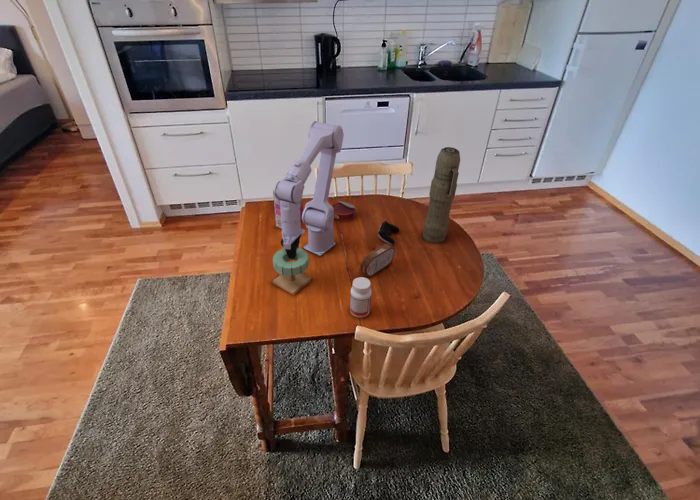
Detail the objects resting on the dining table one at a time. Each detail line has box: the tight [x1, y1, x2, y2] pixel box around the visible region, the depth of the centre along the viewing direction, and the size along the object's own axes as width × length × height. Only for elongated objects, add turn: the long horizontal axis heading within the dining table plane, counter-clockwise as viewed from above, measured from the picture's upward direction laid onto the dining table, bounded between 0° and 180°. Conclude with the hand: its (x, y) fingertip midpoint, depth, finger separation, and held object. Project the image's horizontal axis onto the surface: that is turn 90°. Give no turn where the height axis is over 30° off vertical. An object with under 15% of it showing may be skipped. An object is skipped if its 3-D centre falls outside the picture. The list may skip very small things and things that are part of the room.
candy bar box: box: [272, 188, 304, 230], centre depth 151 cm, size 11×5×16 cm, turn 144°
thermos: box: [422, 146, 461, 244], centre depth 141 cm, size 9×12×35 cm
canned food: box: [331, 197, 356, 222], centre depth 161 cm, size 11×10×10 cm
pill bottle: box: [349, 276, 373, 319], centre depth 115 cm, size 6×6×11 cm
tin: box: [359, 243, 396, 277], centre depth 132 cm, size 15×3×8 cm, turn 134°
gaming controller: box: [377, 220, 400, 246], centre depth 149 cm, size 11×4×7 cm
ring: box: [272, 247, 310, 276], centre depth 123 cm, size 11×11×3 cm
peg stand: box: [271, 272, 313, 296], centre depth 126 cm, size 9×9×6 cm
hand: (293, 254), depth 126 cm, fingers closed on ring, 3 cm apart
